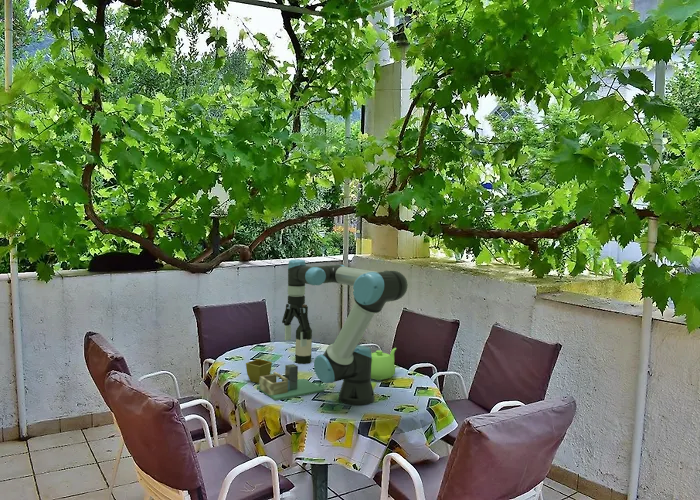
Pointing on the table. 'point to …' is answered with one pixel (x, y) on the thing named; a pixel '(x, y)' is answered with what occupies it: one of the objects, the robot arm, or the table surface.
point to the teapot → (382, 365)
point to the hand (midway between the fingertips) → (295, 343)
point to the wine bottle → (303, 352)
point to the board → (297, 390)
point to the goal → (273, 384)
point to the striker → (291, 376)
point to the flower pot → (258, 369)
